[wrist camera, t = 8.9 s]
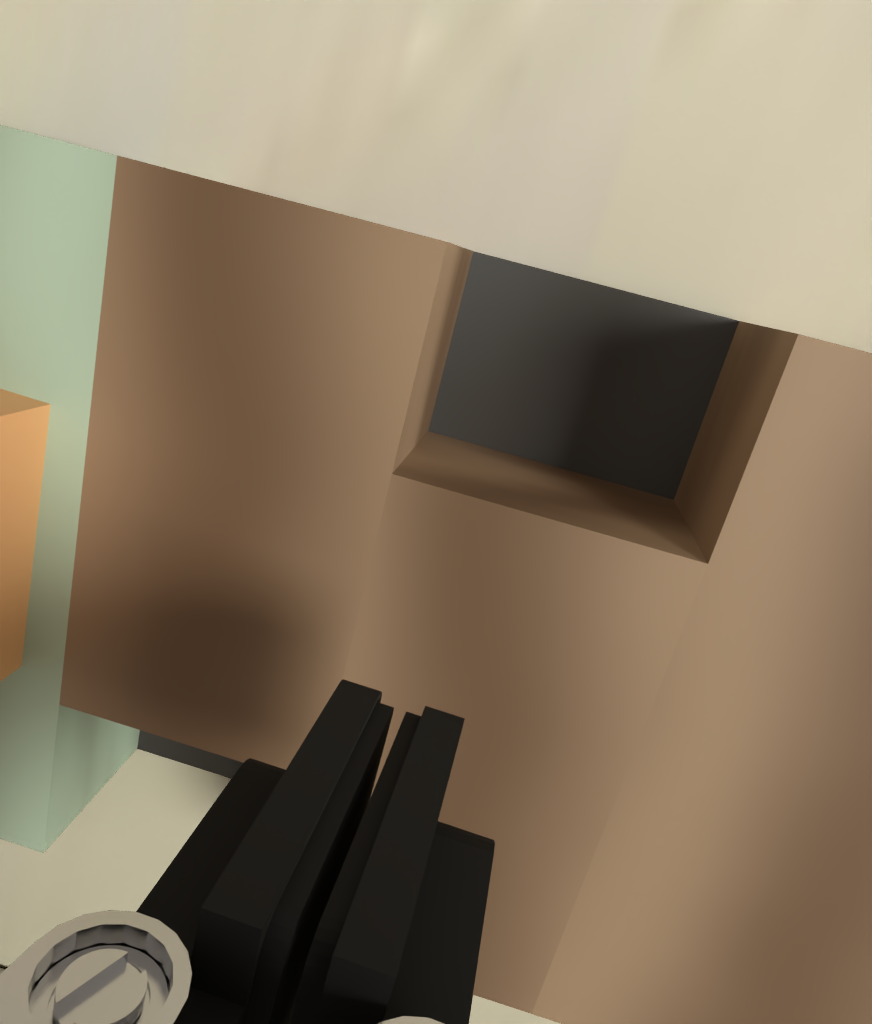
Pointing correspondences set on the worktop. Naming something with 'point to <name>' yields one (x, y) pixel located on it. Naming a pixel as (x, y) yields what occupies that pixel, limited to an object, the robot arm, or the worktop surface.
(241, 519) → the board
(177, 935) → the robot arm
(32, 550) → the orange block
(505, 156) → the worktop surface
